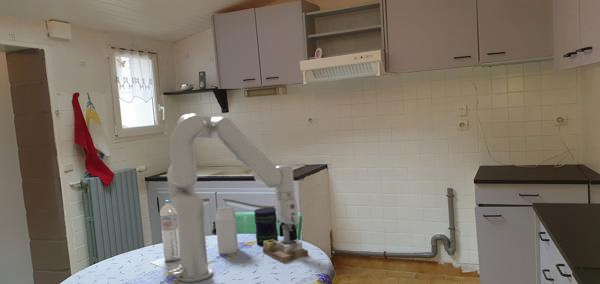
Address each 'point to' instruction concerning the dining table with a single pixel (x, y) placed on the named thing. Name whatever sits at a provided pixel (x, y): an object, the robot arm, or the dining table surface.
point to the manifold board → (284, 250)
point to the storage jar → (265, 225)
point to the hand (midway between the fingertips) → (288, 237)
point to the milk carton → (226, 230)
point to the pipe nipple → (286, 234)
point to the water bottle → (170, 232)
